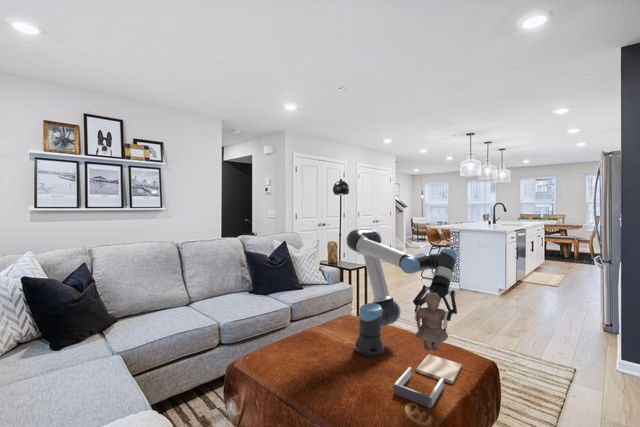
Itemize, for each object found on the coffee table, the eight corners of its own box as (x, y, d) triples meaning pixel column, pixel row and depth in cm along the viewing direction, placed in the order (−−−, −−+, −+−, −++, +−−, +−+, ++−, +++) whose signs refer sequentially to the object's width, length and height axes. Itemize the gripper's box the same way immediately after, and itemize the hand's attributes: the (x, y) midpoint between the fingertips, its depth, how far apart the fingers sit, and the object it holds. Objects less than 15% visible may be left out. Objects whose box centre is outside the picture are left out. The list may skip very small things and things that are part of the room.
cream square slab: (416, 372, 147) (416, 368, 147) (428, 356, 161) (428, 354, 161) (452, 384, 137) (452, 381, 137) (462, 367, 152) (462, 364, 152)
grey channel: (393, 393, 130) (394, 384, 130) (408, 375, 144) (409, 366, 144) (431, 408, 121) (431, 398, 121) (443, 387, 135) (443, 378, 135)
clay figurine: (418, 354, 133) (417, 295, 131) (413, 343, 143) (413, 288, 141) (450, 355, 131) (450, 296, 129) (443, 343, 141) (444, 288, 139)
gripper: (471, 287, 140) (460, 334, 129) (418, 279, 154) (405, 320, 143) (468, 278, 135) (457, 326, 124) (414, 270, 150) (400, 313, 139)
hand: (429, 323), depth 134 cm, fingers closed on clay figurine, 11 cm apart
